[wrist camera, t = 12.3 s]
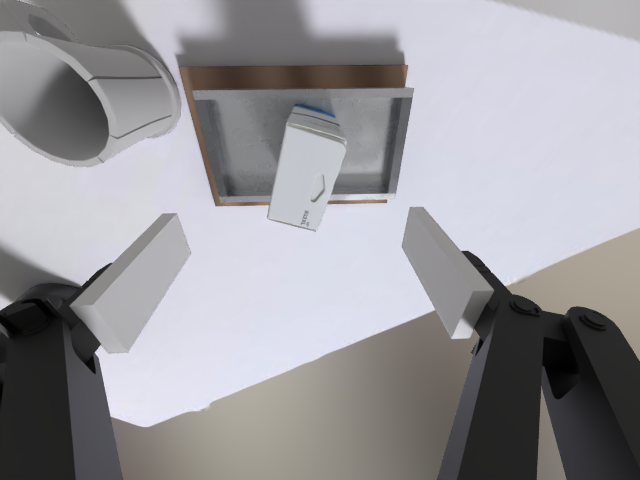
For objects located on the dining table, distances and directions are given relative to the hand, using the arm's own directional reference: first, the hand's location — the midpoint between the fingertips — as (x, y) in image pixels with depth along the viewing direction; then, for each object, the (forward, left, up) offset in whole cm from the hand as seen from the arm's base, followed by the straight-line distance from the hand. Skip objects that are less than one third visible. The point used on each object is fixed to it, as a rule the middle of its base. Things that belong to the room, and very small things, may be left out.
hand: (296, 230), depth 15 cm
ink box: (0, 0, -19) cm, 19 cm away
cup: (-19, +6, -21) cm, 29 cm away
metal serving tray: (0, 0, -21) cm, 21 cm away
